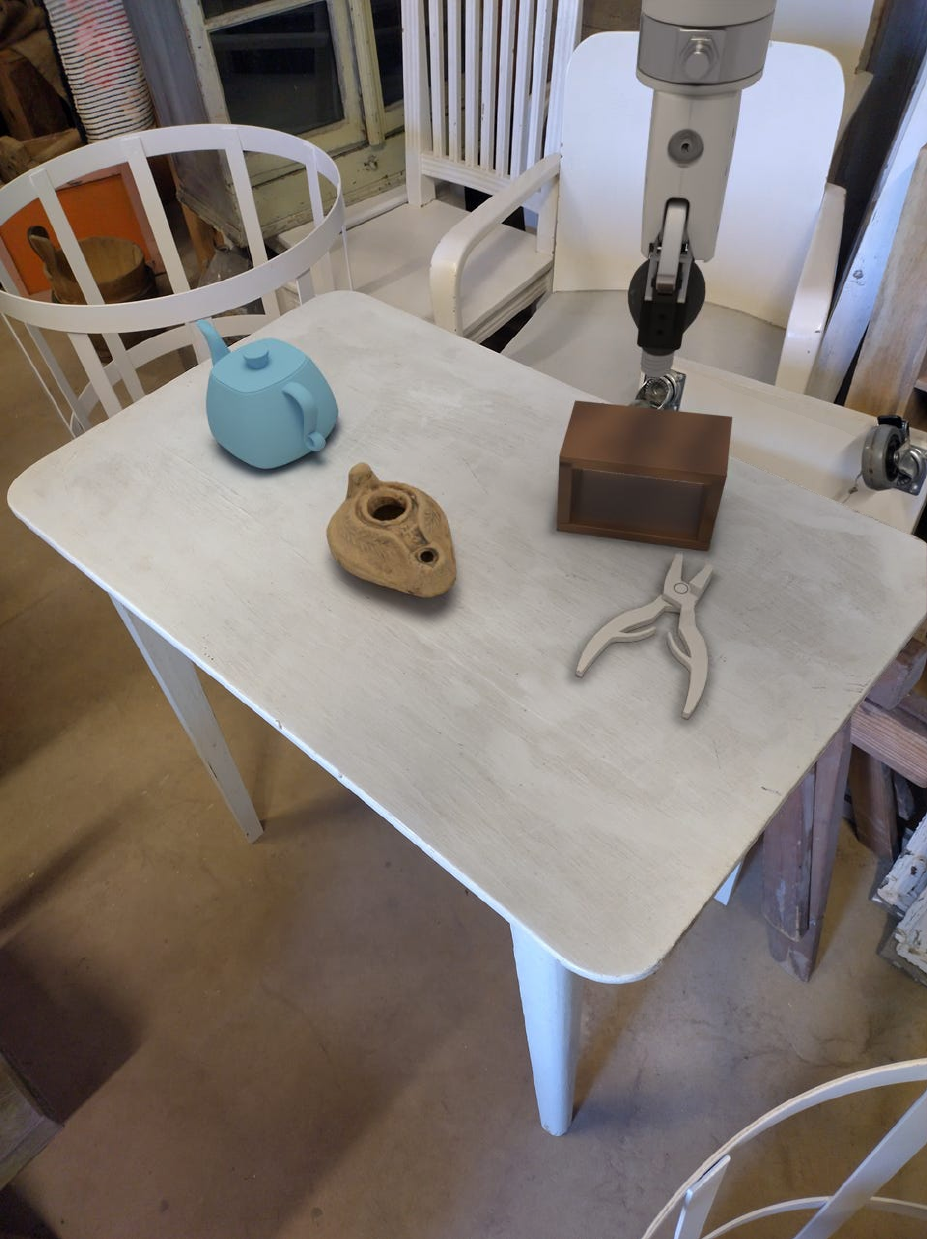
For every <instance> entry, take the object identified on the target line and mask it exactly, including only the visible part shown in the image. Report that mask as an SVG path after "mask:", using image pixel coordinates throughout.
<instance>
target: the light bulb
mask: <svg viewBox="0 0 927 1239" xmlns="http://www.w3.org/2000/svg"><path fill="white" fill-rule="evenodd" d="M649 264H650V257H649V259H646V260H645V261H644V262H643V263H642V264H641V265H640V266H639V267H638V268H637V269H636V271H635V272H634V273H633V275H632V278H631V279H630V281H629V286H628V290H627V304H628V310H629V313H630V315H631V318H632V320H633V322H634V324H635V326H636V328H637V330H638V329H639V320H640V312H641V303H642V295H643V293H646V286H647V279H648V271H649ZM658 267H659V262H658V266H657V273H658ZM682 267H683V264H680V263H678V270H677V274H678V275H680V277H681V273H682ZM686 296H689V301H688V307H687V313H686V319H685V325H684V331H683V335H684V334H685V332H686V331H687V330H688V329H689V328H690V327H691V326H692V324H693V323H695V320H696V319H697V318H698V316H699V314H700V313H701V311H702V309H703V306H704V302H705V299H706V280H705V277H704V274H703V272H702V270H701V268H700V266H699V265H698V264H697V262H696V261H695V262H694V261H693V260H692V261H691V265H690V271H689V278H688V284H687V290H686ZM675 352H676V350H665V349H654V348H642V347H641V358H640V369H641V372H642V373H643V374H645V375H646V376H648V378H649V379H651V380H659V379H661V378H662V377H665V376H667V375H669V374H670V373H671V371H672V367H673V364H674V360H675Z"/></svg>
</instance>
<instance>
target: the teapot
mask: <svg viewBox="0 0 927 1239" xmlns="http://www.w3.org/2000/svg"><path fill="white" fill-rule="evenodd" d="M196 324H197V327H198V329H199V330H200V332H201V333H202V335H203V336H204V339H205V340H206V342H207V345H208V349H209V353H210V357H211V362H212V364H211V365H212V367H211V369H210V372H209V374H208V380H207V386H206V387H207V388H206V395H205V396H206V398H205V406H206V418H207V424H208V427H209V430H210V433H211V435H212V436H213V438H214V439H215V440H216V441H217V442H218V443H219V445H220V446H222V447H223V448H224V449H225V450H227V451H228V452H229V453H230V454H232V455H233V456H235V457H236V458H238V459H240V460H241V461H243V462H244V463H247V464H248V465H250V466H252V467H255V468H258V469H263V470H264V469H267V470H268V469H274V468H279V467H281V466H284V465H286V464H289V463H292V462H293V461H294V462H295V461H296V460H298V459H300V458H302V457H304V456H305V455H307V454H309V453H310V452H312V451H313V452H319V451H322V450H323V449H324V448H325V447H326V444H327V443H326V438H327V437H328V436H330V434H331V432H332V431H333V429H334V428H335V425H336V423H337V420H338V417H339V407H338V403H337V399H336V397H335V394H334V391H333V390H332V387H331V386H330V384H329V382H328V380H327V379H326V377H325V375H324V374H323V373H322V372H321V370H320V369H319V368H318V366H317V365H316V364H315V363H314V362H313V361H312V359H311V358H310V357H309V356H308V355H307V353H305V352H304V351H302V350H301V349H299V348H298V347H296V346H295V345H292V344H290V343H288V342H286V341H285V340H282V339H279V338H276V337H265V338H260V339H257V340H253V341H251V342H249V343H247V344H244V345H241V346H240V347H238V348H236V349H234V350H233V351H231V349H230V348H229V347H228V345H227V344H226V343H225V341H224V339H223V338H222V336H221V335H220V334H219V332H218V331H217V329H216V328H215V327H214V326H213V324H212V323H210V322H209V321H207V320H205V319H198V320H197V321H196Z"/></svg>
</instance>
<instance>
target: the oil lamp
mask: <svg viewBox="0 0 927 1239" xmlns="http://www.w3.org/2000/svg"><path fill="white" fill-rule="evenodd" d="M347 475H348V477H347V479H348V480H347V491H346V494H345V499H344V500H343V502H342V503H341V504H340V506H339V507H338V509H336V511H335V512H334V514H332V516H331V518H330V520H329V522H328V524H327V527H326V529H325V530H326V531H325V534H326V539H327V543H328V547H329V549H330V553H331V555H332V557H333V558H334V560H335V561H336V562H337V563H338V564H339V565H340V566H341V567H342V568H343V569H345V571H347V572H349V573H350V574H352V575H354V576H356V577H358V578H359V579H362V580H364V581H368V582H371V583H373V584H376V585H379V586H383V587H385V588H386V587H387V588H389V589H393V590H396V591H399V592H402V593H405V594H409V595H413V596H417V597H421V598H432V597H436V596H440V595H442V594H445V593H446V592H448V591H449V590H450V589H451V588H452V587H453V585H454V583H455V582H456V581H457V561H456V554H455V548H454V543H453V539H452V535H451V529H450V524H449V520H448V518H447V517H448V516H447V514H446V513H445V511H444V510H443V509H442V507H441V506H440V505H439V503H438V502H437V501H436V500H435V499H434V498H433V497H432V496H430V495H429V494H428V493H427V492H426V491H423V490H421V489H420V488H419V487H415V486H414V485H410V484H409V483H406V482H400V481H397V480H396V481H395V480H394V481H383V480H380V479H379V478H378V476H377V475H376V474H375V473H374V471H373V470H372V469H371V467H370V465H369V464H368V463H366V462H363V461H361V462H359V463H356V464H355V465H354V466H352V467H351V469H350V470H349V472H348V474H347Z"/></svg>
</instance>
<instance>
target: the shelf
mask: <svg viewBox="0 0 927 1239" xmlns="http://www.w3.org/2000/svg"><path fill="white" fill-rule="evenodd" d="M732 424H733V416H727V415H720V414H712V413H711V414H709V413H701V412H690V411H682V410H670V409H664V408H663V409H661V408H652V407H642V406H633V405H623V404H613V403H605V402H595V401H594V402H593V401H584V400H574V403H573V406H572V410H571V412H570V417H569V421H568V425H567V428H566V431H565V433H564V438H563V441H562V446H561V448H560V452H559V455H558V456H559V457H558V459H559V460H558V478H557V479H558V480H557V504H556V508H557V509H556V530H555V531H558V532H567V533H574V534H581V535H589V536H595V537H602V538H608V539H609V538H610V539H615V540H616V539H617V540H624V541H631V542H638V543H646V544H654V545H661V546H668V547H676V548H683V549H689V550H696V551H704V552H709V550H710V546H711V542H712V539H713V534H714V530H715V526H716V522H717V519H718V515H719V514H718V513H719V511H720V505H721V502H722V498H723V493H724V490H725V485H726V482H727V478H728V472H729V460H730V447H731V436H732V426H733V425H732Z"/></svg>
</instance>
